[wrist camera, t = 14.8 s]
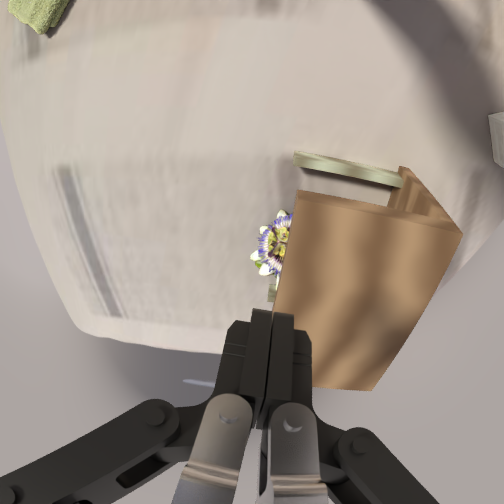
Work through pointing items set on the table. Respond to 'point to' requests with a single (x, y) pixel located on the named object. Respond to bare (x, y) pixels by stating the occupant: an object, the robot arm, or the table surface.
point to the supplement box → (497, 137)
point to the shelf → (361, 271)
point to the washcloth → (38, 12)
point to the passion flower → (273, 246)
